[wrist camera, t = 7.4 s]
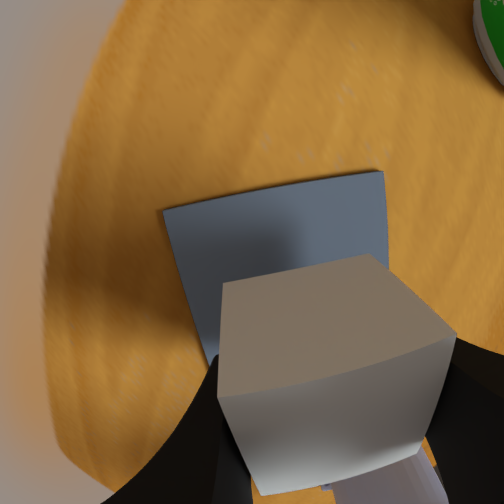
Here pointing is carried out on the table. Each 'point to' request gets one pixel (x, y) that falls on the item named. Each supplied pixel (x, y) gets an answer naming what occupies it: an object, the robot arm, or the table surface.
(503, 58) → the soda can
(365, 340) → the cream block
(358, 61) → the table surface
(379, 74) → the table surface
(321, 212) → the mat
